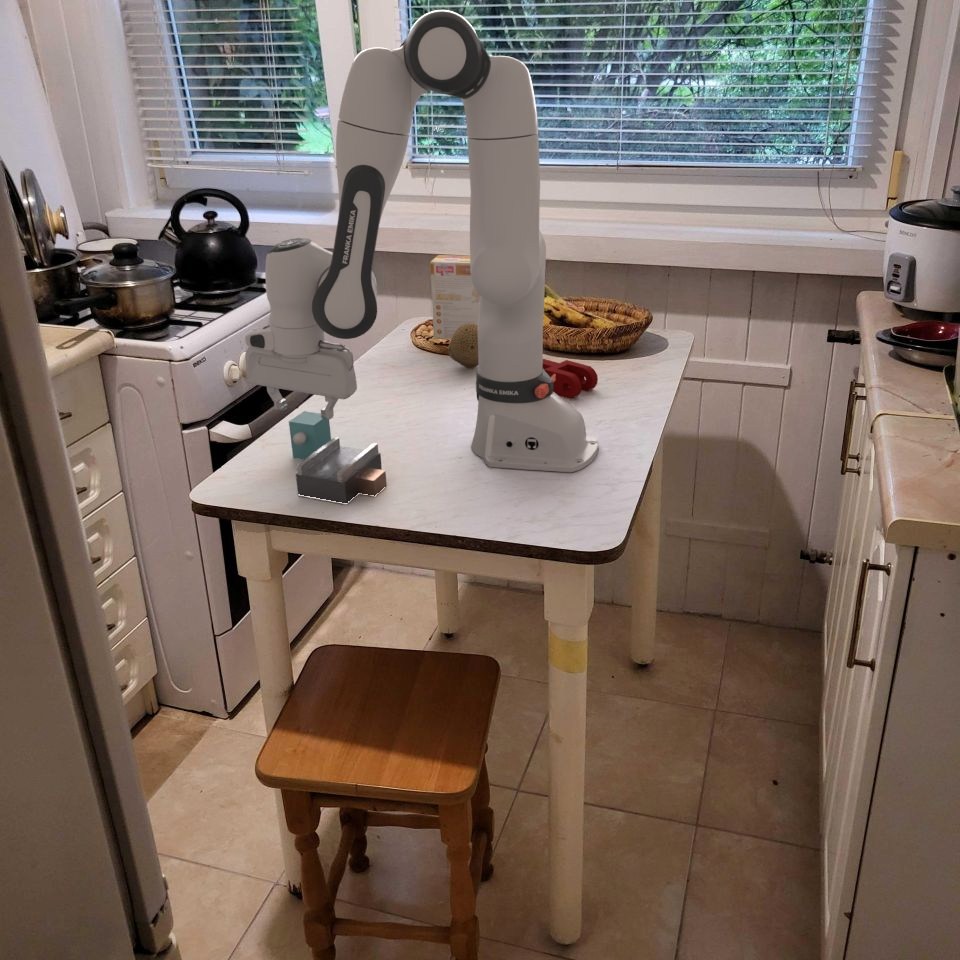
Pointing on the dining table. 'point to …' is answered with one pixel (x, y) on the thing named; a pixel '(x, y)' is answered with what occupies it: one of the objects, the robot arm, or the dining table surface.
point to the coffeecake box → (452, 295)
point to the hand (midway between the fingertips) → (304, 413)
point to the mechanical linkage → (570, 377)
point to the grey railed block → (341, 472)
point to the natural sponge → (465, 345)
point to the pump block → (308, 434)
